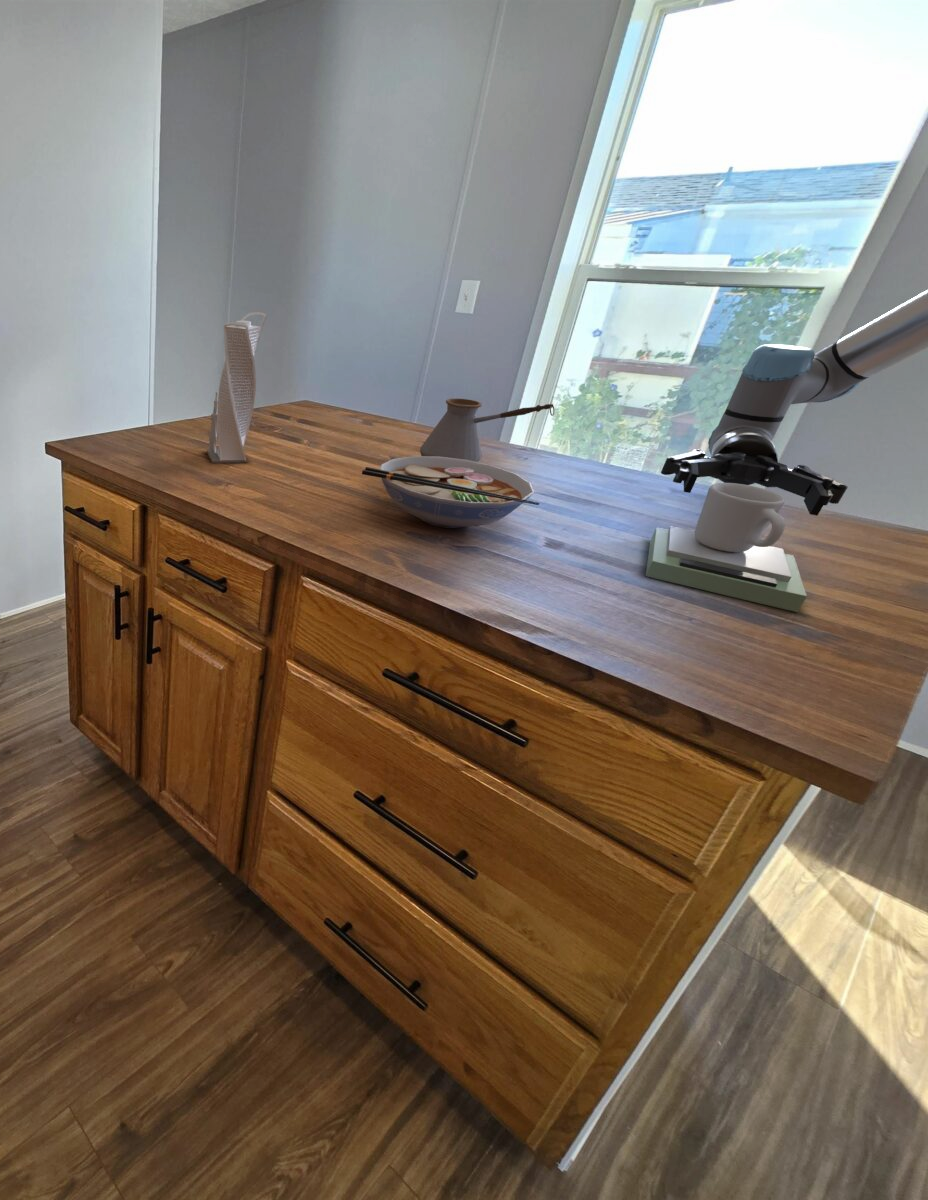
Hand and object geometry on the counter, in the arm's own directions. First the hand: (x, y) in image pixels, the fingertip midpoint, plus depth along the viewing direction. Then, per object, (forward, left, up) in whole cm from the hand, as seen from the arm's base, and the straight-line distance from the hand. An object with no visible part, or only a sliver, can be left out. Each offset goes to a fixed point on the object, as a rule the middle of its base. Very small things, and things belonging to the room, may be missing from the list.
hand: (752, 494), depth 90 cm
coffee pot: (+38, -22, -11) cm, 45 cm away
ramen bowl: (+36, +8, -11) cm, 39 cm away
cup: (0, +2, -8) cm, 8 cm away
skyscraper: (+80, +1, -11) cm, 81 cm away
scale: (0, +4, -11) cm, 11 cm away
